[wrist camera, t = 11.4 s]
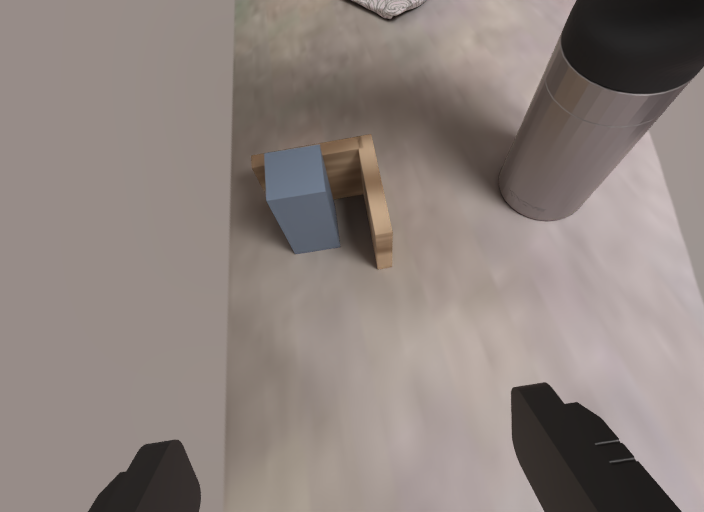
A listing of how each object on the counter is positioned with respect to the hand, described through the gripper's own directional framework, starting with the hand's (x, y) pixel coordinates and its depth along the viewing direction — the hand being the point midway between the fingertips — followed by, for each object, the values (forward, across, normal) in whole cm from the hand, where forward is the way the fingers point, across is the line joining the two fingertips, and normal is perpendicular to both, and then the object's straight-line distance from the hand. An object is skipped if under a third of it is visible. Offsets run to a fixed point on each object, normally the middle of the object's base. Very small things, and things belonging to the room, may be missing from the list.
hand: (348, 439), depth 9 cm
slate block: (+34, +4, +5) cm, 35 cm away
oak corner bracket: (+34, +2, +5) cm, 34 cm away
